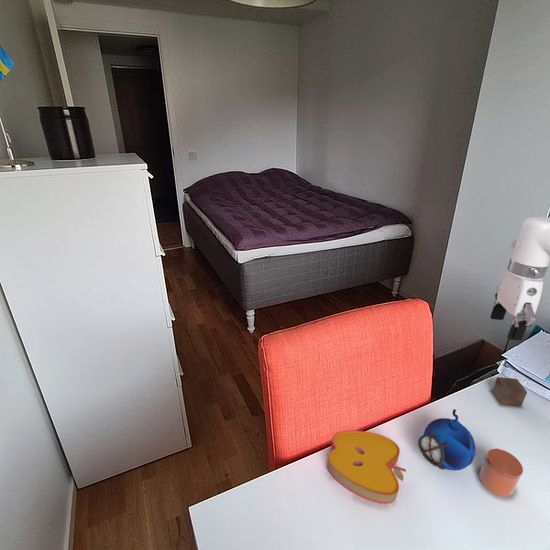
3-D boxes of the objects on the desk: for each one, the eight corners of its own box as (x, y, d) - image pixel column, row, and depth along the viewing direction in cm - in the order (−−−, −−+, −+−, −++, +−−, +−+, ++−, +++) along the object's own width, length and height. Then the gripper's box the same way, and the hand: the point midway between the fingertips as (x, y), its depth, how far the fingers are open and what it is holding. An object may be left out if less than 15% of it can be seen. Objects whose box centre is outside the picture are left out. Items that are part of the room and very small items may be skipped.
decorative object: (321, 488, 67) (402, 516, 62) (323, 475, 65) (406, 503, 61) (334, 434, 79) (402, 455, 74) (336, 421, 77) (406, 442, 73)
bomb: (405, 451, 75) (419, 399, 69) (440, 434, 79) (456, 384, 73) (442, 491, 67) (461, 436, 61) (478, 470, 72) (500, 417, 65)
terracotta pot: (504, 470, 72) (513, 450, 69) (519, 498, 66) (529, 478, 64) (474, 466, 72) (482, 446, 70) (486, 494, 67) (496, 474, 64)
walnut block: (511, 393, 93) (517, 378, 91) (521, 407, 88) (527, 392, 86) (491, 391, 93) (497, 376, 91) (500, 405, 89) (506, 390, 87)
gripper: (566, 285, 74) (538, 350, 81) (524, 257, 90) (504, 313, 97) (528, 282, 75) (505, 346, 82) (494, 255, 91) (476, 311, 98)
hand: (504, 328), depth 89 cm, fingers open, 9 cm apart
